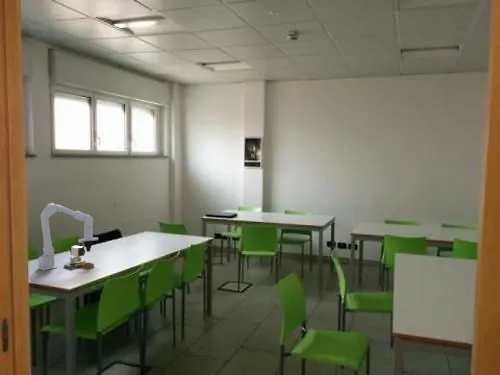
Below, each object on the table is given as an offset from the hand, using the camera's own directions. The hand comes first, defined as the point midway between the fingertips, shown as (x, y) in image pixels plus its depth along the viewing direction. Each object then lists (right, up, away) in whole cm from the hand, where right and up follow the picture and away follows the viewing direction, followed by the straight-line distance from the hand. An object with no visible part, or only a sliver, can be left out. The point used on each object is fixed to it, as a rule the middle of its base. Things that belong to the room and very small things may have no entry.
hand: (88, 251), depth 303 cm
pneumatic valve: (-11, -9, +9) cm, 17 cm away
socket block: (-7, -10, -9) cm, 15 cm away
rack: (+3, -10, -8) cm, 13 cm away
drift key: (-4, -10, -5) cm, 11 cm away
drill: (-7, -10, -9) cm, 15 cm away
